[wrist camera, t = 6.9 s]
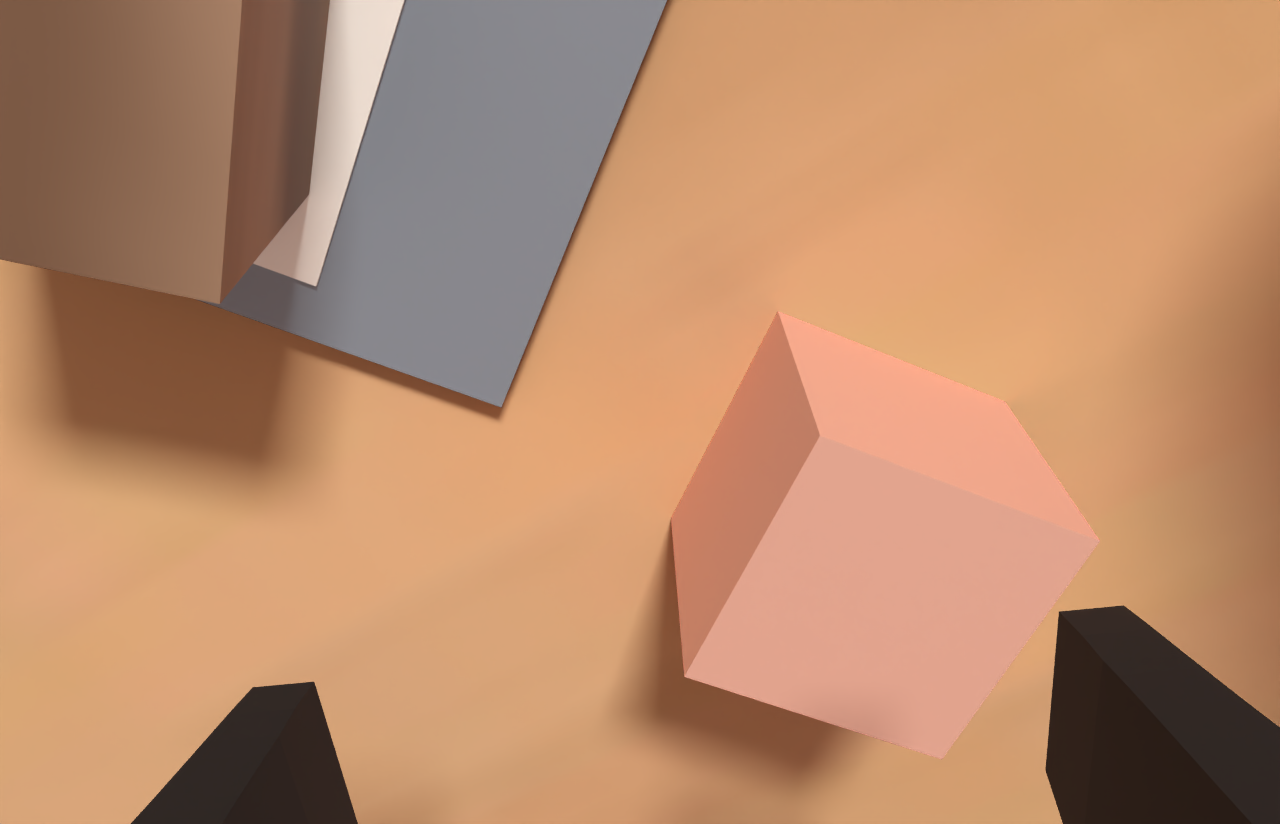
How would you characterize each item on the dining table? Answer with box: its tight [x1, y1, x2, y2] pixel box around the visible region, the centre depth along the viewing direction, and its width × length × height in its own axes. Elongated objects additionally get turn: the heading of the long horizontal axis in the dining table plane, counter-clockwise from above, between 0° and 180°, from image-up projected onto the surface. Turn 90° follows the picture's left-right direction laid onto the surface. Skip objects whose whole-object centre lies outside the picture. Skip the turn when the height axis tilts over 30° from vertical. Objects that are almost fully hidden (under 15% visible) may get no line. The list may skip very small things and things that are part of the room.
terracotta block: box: [671, 311, 1100, 759], centre depth 19 cm, size 4×4×4 cm
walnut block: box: [0, 0, 330, 304], centre depth 14 cm, size 4×4×4 cm
